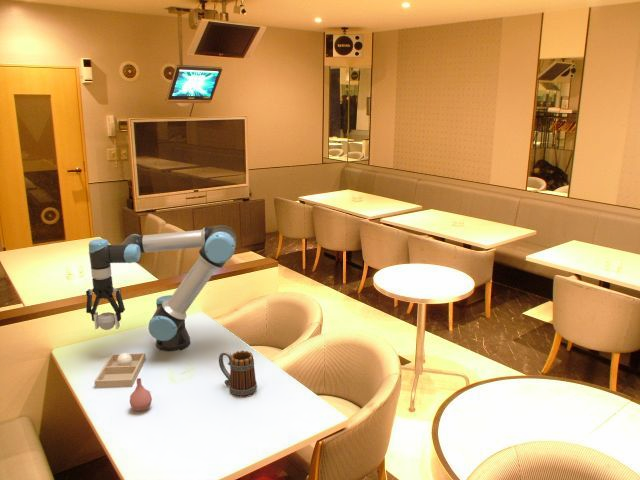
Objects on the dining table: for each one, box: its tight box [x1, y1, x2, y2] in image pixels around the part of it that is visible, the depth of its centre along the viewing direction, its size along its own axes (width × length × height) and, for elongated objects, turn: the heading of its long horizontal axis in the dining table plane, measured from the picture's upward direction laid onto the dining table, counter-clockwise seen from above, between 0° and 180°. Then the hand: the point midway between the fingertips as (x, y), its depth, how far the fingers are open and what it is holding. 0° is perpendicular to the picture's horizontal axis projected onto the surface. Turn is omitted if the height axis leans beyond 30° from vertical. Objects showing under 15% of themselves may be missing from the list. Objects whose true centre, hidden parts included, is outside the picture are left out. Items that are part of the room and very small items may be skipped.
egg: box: [117, 352, 132, 366], centre depth 227 cm, size 6×6×6 cm
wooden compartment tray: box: [94, 352, 147, 389], centre depth 223 cm, size 14×22×4 cm, turn 4°
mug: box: [218, 350, 258, 398], centre depth 210 cm, size 16×11×15 cm
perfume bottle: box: [129, 377, 153, 412], centre depth 198 cm, size 8×8×12 cm
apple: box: [97, 311, 116, 331], centre depth 230 cm, size 8×8×7 cm
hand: (107, 327), depth 231 cm, fingers closed on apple, 8 cm apart
